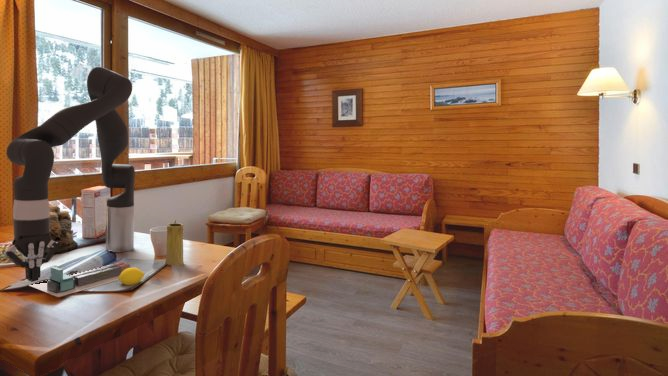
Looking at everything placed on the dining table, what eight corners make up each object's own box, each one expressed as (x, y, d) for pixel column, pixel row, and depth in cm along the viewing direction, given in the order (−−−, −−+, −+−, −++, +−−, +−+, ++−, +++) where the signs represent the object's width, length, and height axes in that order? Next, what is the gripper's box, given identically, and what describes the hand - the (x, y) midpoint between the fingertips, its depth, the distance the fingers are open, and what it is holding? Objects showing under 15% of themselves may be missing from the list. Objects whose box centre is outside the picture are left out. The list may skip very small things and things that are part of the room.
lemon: (118, 290, 116) (115, 272, 116) (122, 283, 122) (119, 266, 121) (144, 286, 118) (141, 268, 118) (146, 279, 123) (144, 263, 123)
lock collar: (61, 291, 109) (60, 270, 108) (49, 286, 112) (49, 266, 111) (73, 288, 112) (73, 268, 111) (61, 283, 114) (61, 264, 114)
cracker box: (97, 231, 182) (97, 185, 179) (111, 231, 182) (111, 186, 180) (80, 238, 168) (80, 189, 165) (95, 238, 168) (95, 189, 166)
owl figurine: (63, 256, 143) (62, 209, 141) (26, 256, 140) (24, 209, 138) (83, 243, 160) (83, 201, 158) (50, 243, 158) (49, 201, 156)
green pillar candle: (177, 267, 138) (177, 227, 136) (161, 265, 139) (162, 225, 137) (187, 262, 144) (187, 224, 142) (171, 260, 145) (172, 222, 143)
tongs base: (56, 293, 109) (56, 283, 108) (47, 290, 111) (47, 280, 110) (130, 272, 128) (130, 264, 128) (121, 270, 130) (121, 261, 130)
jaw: (73, 284, 115) (73, 276, 115) (70, 283, 116) (69, 274, 116) (124, 270, 129) (125, 263, 129) (121, 269, 130) (121, 262, 130)
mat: (28, 287, 113) (28, 285, 113) (112, 265, 135) (112, 264, 135) (58, 299, 106) (58, 297, 106) (141, 274, 129) (141, 273, 128)
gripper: (9, 221, 96) (11, 291, 98) (67, 214, 107) (67, 276, 109) (-7, 217, 99) (-5, 284, 101) (51, 211, 111) (52, 271, 113)
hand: (33, 280), depth 105 cm, fingers closed
